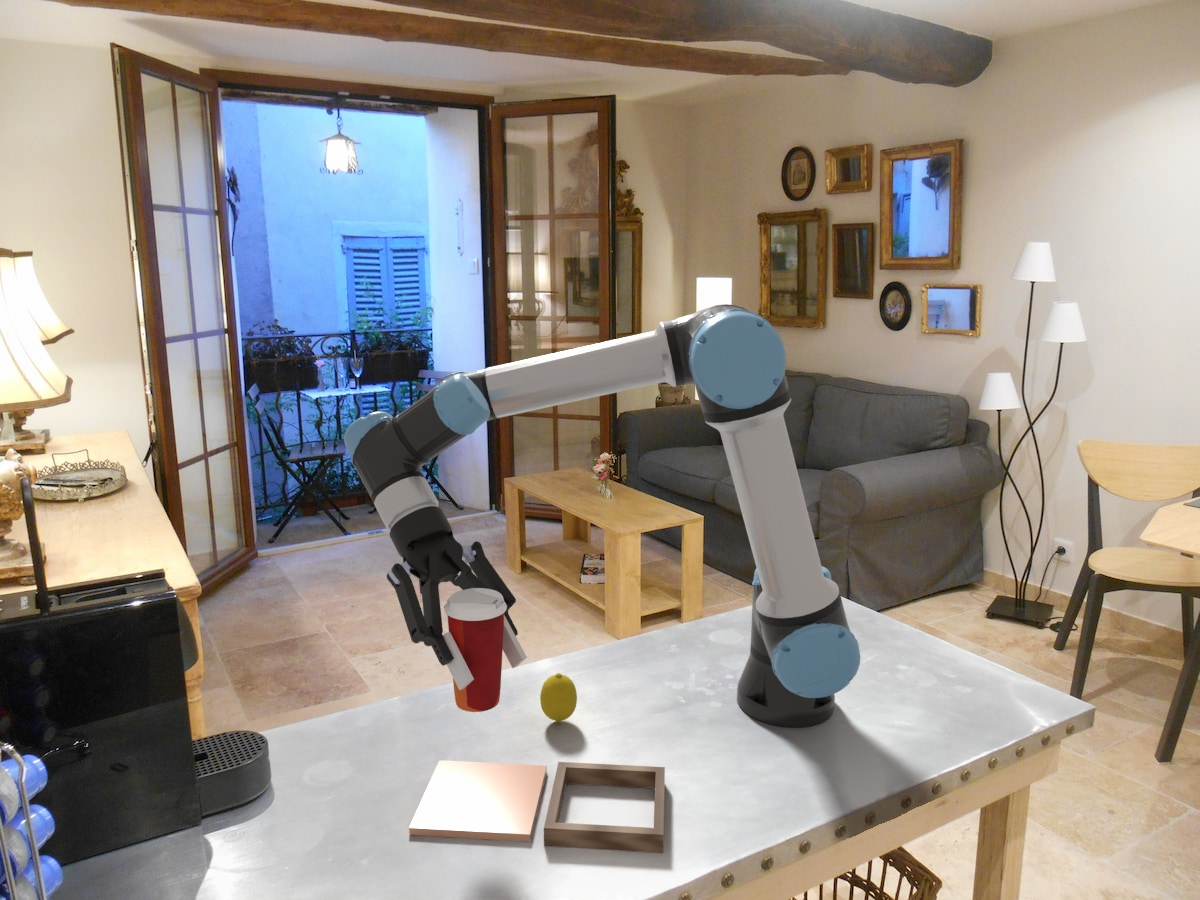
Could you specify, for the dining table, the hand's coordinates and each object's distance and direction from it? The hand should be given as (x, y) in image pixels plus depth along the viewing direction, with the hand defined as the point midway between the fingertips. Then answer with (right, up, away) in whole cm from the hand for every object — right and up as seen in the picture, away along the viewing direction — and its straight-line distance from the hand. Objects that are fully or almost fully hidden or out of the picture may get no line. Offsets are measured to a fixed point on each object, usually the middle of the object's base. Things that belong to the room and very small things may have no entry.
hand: (493, 673), depth 114 cm
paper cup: (-2, -4, +4) cm, 6 cm away
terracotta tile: (-2, -18, +7) cm, 20 cm away
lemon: (+7, -14, +27) cm, 31 cm away
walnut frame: (+14, -19, +5) cm, 24 cm away
